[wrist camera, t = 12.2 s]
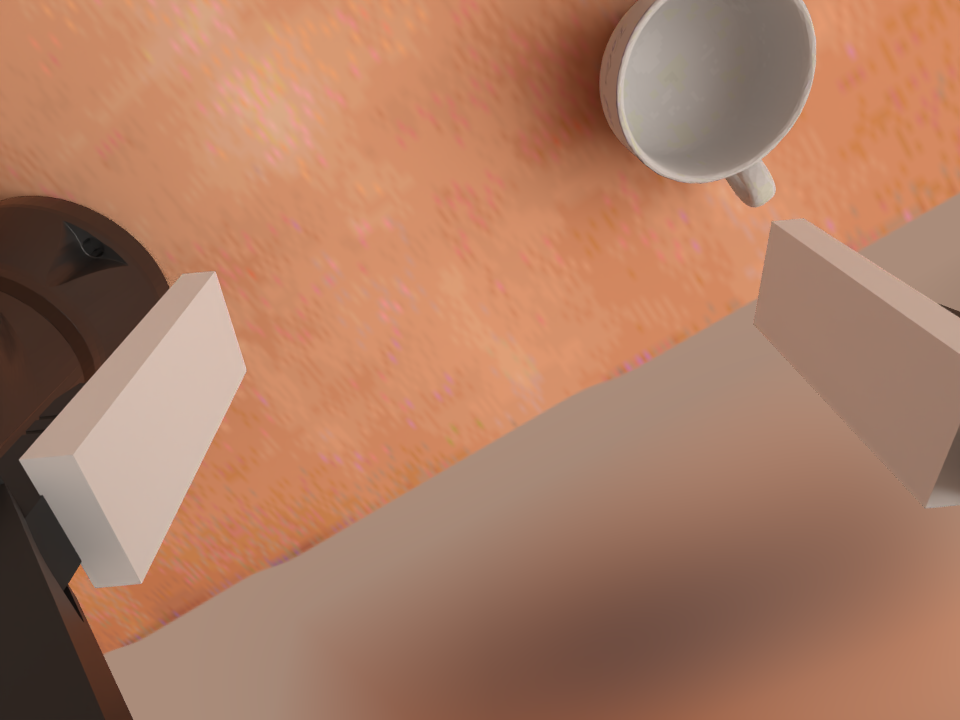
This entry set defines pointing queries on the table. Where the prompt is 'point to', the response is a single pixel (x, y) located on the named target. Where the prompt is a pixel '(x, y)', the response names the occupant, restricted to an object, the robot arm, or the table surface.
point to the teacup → (709, 87)
